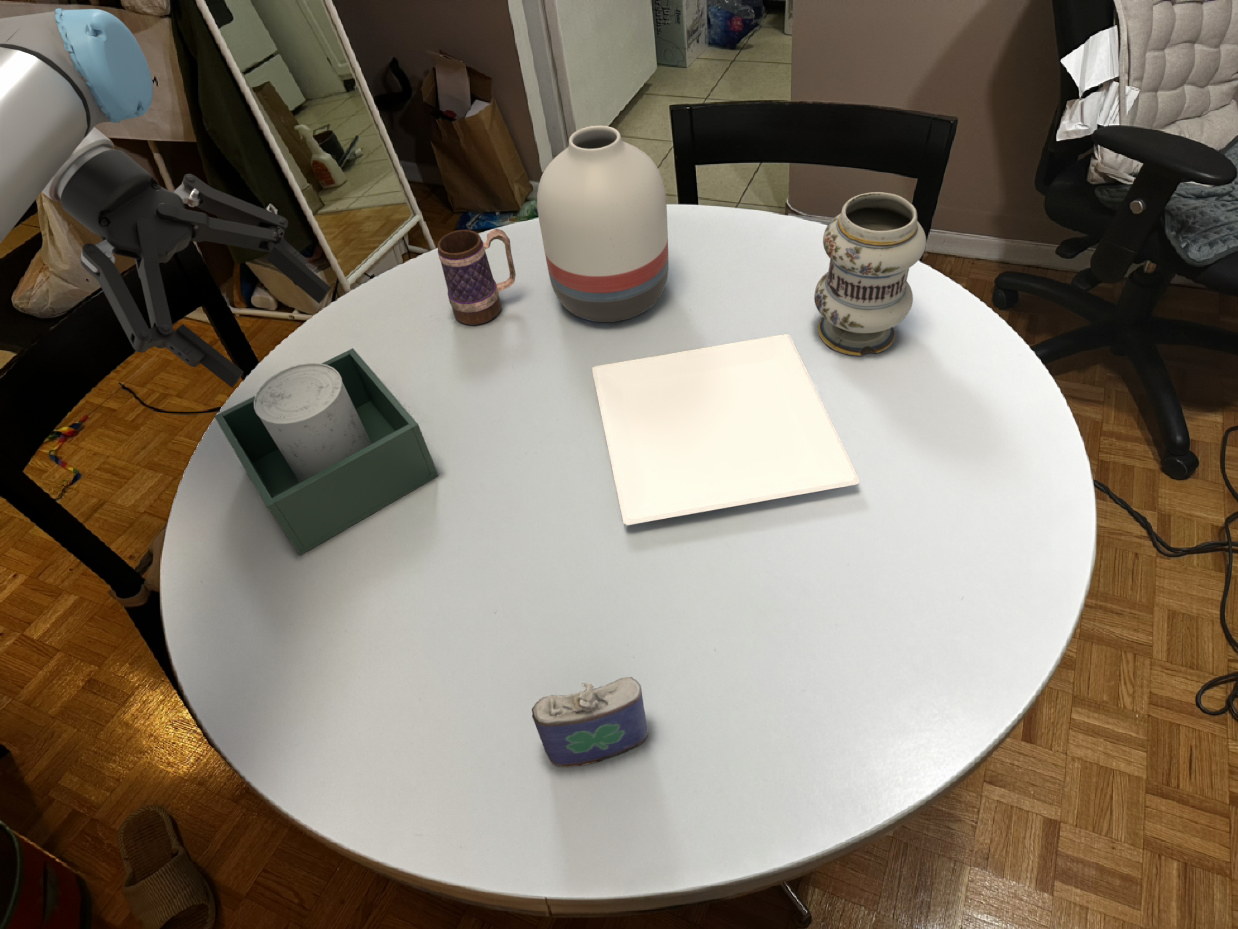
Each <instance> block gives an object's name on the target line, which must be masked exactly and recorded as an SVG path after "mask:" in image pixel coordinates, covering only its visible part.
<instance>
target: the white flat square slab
mask: <svg viewBox="0 0 1238 929" xmlns="http://www.w3.org/2000/svg"><path fill="white" fill-rule="evenodd" d="M591 371H592V376H593V381H594V385H595V391H596V395H597V400H598V405H599V411H600V415H601V416H600V417H601V420H602V425H603V431H604V435H605V439H606V445H607V450H608V454H609V459H610V460H609V461H610V464H611V470H612V475H613V479H614V484H615V490H616V494H617V498H618V503H619V509H620V514H621V519H622V523H623V524H624V525H626V526H631V525H637V524H643V523H648V522H654V521H659V520H665V519H669V518H670V519H671V518H675V517H682V516H688V515H692V514H698V513H704V512H710V511H716V510H721V509H727V508H731V507H737V506H743V505H749V504H755V503H760V502H766V501H771V500H777V499H783V498H788V497H794V496H800V495H804V494H811V493H817V492H822V491H828V490H833V489H838V488H844V487H851V486H856V485H859V484H860V482H861V480H860V478H859V476H858V474H857V471H856V469H855V467H854V465H853V463H852V460H851V459H850V456H849V455H848V453H847V451H846V448H845V446H844V444H843V442H842V440H841V438H840V436H839V434H838V432H837V430H836V428H835V426H834V424H833V422H832V419H831V417H830V415H829V414H828V413H829V412H828V411H827V409H826V407H825V405H824V403H823V400H822V398H821V396H820V394H819V392H818V391H817V388H816V387H815V384H814V382H813V379H812V378H811V376H810V374H809V372H808V369H807V368H806V365H805V364H804V362H803V360H802V357H801V354H800V353H799V351H798V349H797V347H796V345H795V343H794V341H793V338H792V337H791V335H790V334H787V333H784V334H777V335H771V336H765V337H761V338H754V339H748V340H743V341H741V340H740V341H736V342H731V343H724V344H718V345H712V346H708V347H700V348H694V349H689V350H688V349H687V350H683V351H678V352H672V353H665V354H659V355H654V356H647V357H642V358H636V359H630V360H624V361H618V362H613V363H607V364H600V365H595V366H593V367H592V368H591Z"/></svg>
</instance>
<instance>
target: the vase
mask: <svg viewBox="0 0 1238 929" xmlns="http://www.w3.org/2000/svg"><path fill="white" fill-rule="evenodd" d="M665 187H666V186H665V182H664V180H663V177H662V174H661V172H660V170H659V168H658V166H657V165H656V163H655V162H654V160H653V159H652V158H651V157H650V156H649V155H648V154H647V153H645V152H644V151H643V150H641V149H639V148H638V147H636V146H634V145H632V144H630V143H628V142H626V141H624V140H623V139H622V136H621V133H620V131H619V130H617V129H616V128H614V127H611V126H607V125H590V126H586V127H582V128H580V129H578V130H575V131H574V132H573V133H572V134H571V135H570V136H569V139H568V146H567V147H566V148H564V150H562V151H561V152H560V153H558V154H557V155H556V156H555V157H554V158H553V159H551V161H550V162H549V163H548V165H547V166H546V167H545V169H544V170H543V173H542V175H541V177H540V180H539V183H538V187H537V193H536V207H537V216H538V222H539V223H538V224H539V228H540V234H541V239H542V245H543V251H544V256H545V261H546V266H547V271H548V275H549V276H548V277H549V280H550V284H551V287H552V290H553V293H554V294H555V296H556V298H557V299H558V301H559V303H561V305H562V306H563V307H564V308H565V309H566V310H567V311H568V312H570V313H571V314H572V315H574V316H577V317H579V318H582V319H584V320H587V321H592V322H599V323H613V322H622V321H625V320H628V319H632V318H635V317H637V316H639V315H641V314H643V313H645V312H646V311H647V310H649V309H650V308H652V307H653V306H654V305H655V304H656V303H657V301H658V300H659V299H660V297H661V296H662V294H663V292H664V289H665V287H666V285H667V280H668V276H669V232H668V204H667V194H666V188H665Z"/></svg>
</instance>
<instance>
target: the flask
mask: <svg viewBox="0 0 1238 929" xmlns="http://www.w3.org/2000/svg"><path fill="white" fill-rule="evenodd" d="M581 687H585V690H584V691H582V690H581V691H579V692H577V693H572V694H570V693H569V694H564V695H562V694H560V695H559V694H558V695H555V694H551V695H547V696H546V695H545V696H543V697H541V698H539V699H538V700H537V702H535V703H534V705H533V707H532V708H531V713H532V714H531V718H532V720H533V722H534V725H535V728H536V731H537V734H538V736H539V739H540V741H541V744H542V747H543V750H544V753H545V754H546V756H547V758H548V760H549V762H550V763H551V764H552V765H553V766H556V767H558V768H560V767H563V768H571V767H581V766H585V765H586V766H588V765H593V764H595V763H599V762H601V761H604V760H606V759H610V758H613V757H615V756H618V755H620V754H624V753H627V752H628V751H630V750H634V749H636V748H637V747H638V746H639V745H641V744H643V743H644V741H646V738H647V737H648V733H649V730H648V729H649V728H648V723H647V719H646V718H647V717H646V711H645V705H644V698H643V690H642V685H641V684H640V682H639V681H638V680H637V679H635V678H633V677H632V676H625V677H621V678H619V679H616V680H615V681H612V682H609V683H607V684H605V685H603V686H598V687H597V688H596V687H595V686H594V685H593V684H592V683H587V682H583V683H582V684H581ZM594 687H595V688H594Z"/></svg>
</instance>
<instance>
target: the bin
mask: <svg viewBox="0 0 1238 929" xmlns="http://www.w3.org/2000/svg"><path fill="white" fill-rule="evenodd" d="M321 364H325V365H328V366H330V367H332V368H334V369H335V370H336V371H337V372H338V373H339V374H340V376H341V378H342V382H343V384H344V386H345V389H346V391H347V393H348V395H349V397H350V399H351V401H352V403H353V405H354V408H355V410H356V412H357V414H358V416H359V418H360V420H361V422H362V424H363V427H364V429H365V431H366V433H367V435H368V437H369V439H370V441H371V443H372V444H371V445H369V446H367V447H366V448H364V449H362V450H360V451H358V452H356V453H354V454H353V455H351V456H349V457H347V458H345V459H343V460H341V461H340V462H338V463H336V464H334V465H332V466H330V467H329V468H327V469H325V470H323V471H321V472H319V473H317V474H316V475H314V476H312V477H310V478H308V479H306V480H305V481H303V482H301V483H299V482H298V479H297V478H296V476H295V474H294V473H293V471H292V470H291V468H290V466H289V465H288V463H287V461H286V460H285V458H284V456H283V455H282V453H281V452H280V450H279V448H278V447H277V445H276V443H275V442H274V440H273V438H272V437H271V435H270V433H269V432H268V430H267V429H266V427H265V425H264V424H263V422H262V420H261V419H260V417H259V416H258V415H257V414H256V412H255V409H254V399H255V395H254V396H252V397H250V398H248V399H246V400H243V401H242V402H240V403H238V404H236V405H234V406H231V407H230V408H227V409H226V410H223V411H221V412H220V413H217V414H215V415H214V416H213V417H214V419H215V421H216V422H217V424H218V425H219V427H220V430H221V431H222V433H223V435H224V436H225V438H226V440H227V441H228V443H229V445H230V446H231V448H232V450H233V452H234V454H235V455H236V457H237V458H238V460H239V461H240V463H241V465H242V466H243V468H244V470H245V472H246V473H247V475H248V477H249V478H250V480H251V482H252V484H253V486H254V487H255V489H256V491H257V492H258V494H259V495H260V497H261V499H262V500H263V503H264V504H265V506H266V507H267V509H268V510H269V512H270V513H271V515H272V516H273V518H274V519H275V521H276V522H277V524H278V525H279V527H280V528H281V529H282V531H283V532H284V534H285V536H286V537H287V539H288V540H289V541H290V543H291V544H292V546H293V547H294V549H295V550H296V552H297V553H298V554H299V556H302V555H303V554H305V553H307V552H309V551H310V550H313V549H314V548H316V547H317V546H319V545H321V544H323V543H324V542H326V541H329V540H330V539H332V538H333V537H334V536H336V535H338V534H341V533H342V532H343V531H345V530H347V529H349V528H351V527H352V526H353V525H356V524H358V523H359V522H360V521H363V520H364V519H366V518H368V517H370V516H371V515H373V514H374V513H376V512H378V511H380V510H382V509H384V508H386V507H387V506H388V505H390V504H392V503H394V502H395V501H398V500H399V499H401V498H402V497H404V496H406V495H408V494H410V493H411V492H413V491H414V490H416V489H418V488H420V487H421V486H423V485H426V484H427V483H429V482H430V481H433V480H434V479H436V478H437V477H439V472H438V471H437V468H436V465H435V463H434V461H433V458H432V456H431V453H430V451H429V448H428V445H427V443H426V441H425V438H424V435H423V432H422V430H421V428H420V425H419V423H418V422H417V421H416V420H415V418H414V417H413V416H412V415H411V414H410V413H409V412H408V410H407V409H406V408H405V407H404V406H403V405H402V404H401V402H400V401H399V400H398V398H396V396H395V395H394V394H393V393H392V391H391V390H389V388H388V387H387V386H386V385H385V384H384V383H383V381H382V380H381V379H380V378H379V376H377V374H376V373H375V372H374V370H372V368H371V367H370V366H369V365H368V364H367V363H366V362H365V360H364V359H363V358H362V356H360V355H359V353H358V352H357V351H356V349H354V348H353V347H352V348H350V349H348V350H347V351H344V352H342V353H339V354H338V355H336V356H334V357H332V358H329V359H327V360H326V361H324V362H321Z"/></svg>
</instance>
